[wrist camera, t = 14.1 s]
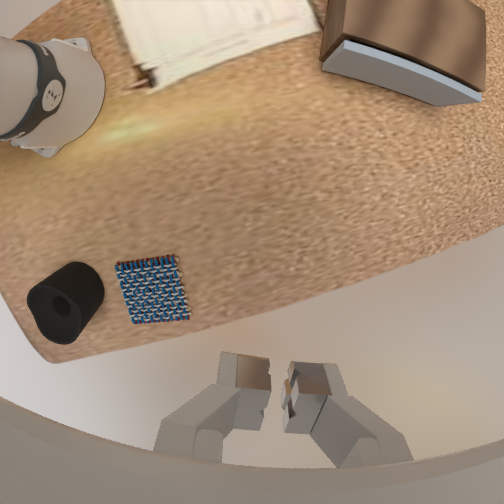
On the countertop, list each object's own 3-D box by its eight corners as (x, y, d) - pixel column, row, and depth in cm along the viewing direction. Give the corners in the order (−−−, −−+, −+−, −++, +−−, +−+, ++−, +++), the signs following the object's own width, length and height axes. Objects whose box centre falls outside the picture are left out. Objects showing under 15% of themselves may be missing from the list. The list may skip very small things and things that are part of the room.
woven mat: (134, 321, 49) (130, 328, 47) (115, 260, 46) (110, 265, 44) (195, 316, 49) (193, 322, 47) (179, 251, 45) (176, 256, 43)
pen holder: (54, 294, 47) (23, 322, 38) (65, 248, 44) (30, 272, 35) (99, 321, 49) (73, 355, 39) (114, 276, 46) (86, 307, 36)
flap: (321, 70, 36) (343, 48, 26) (322, 63, 35) (344, 39, 25) (437, 106, 36) (481, 102, 26) (438, 100, 36) (481, 94, 26)
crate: (319, 60, 36) (343, 32, 25) (329, -10, 32) (352, -51, 21) (435, 98, 37) (484, 91, 26) (440, 31, 33) (484, 10, 22)
